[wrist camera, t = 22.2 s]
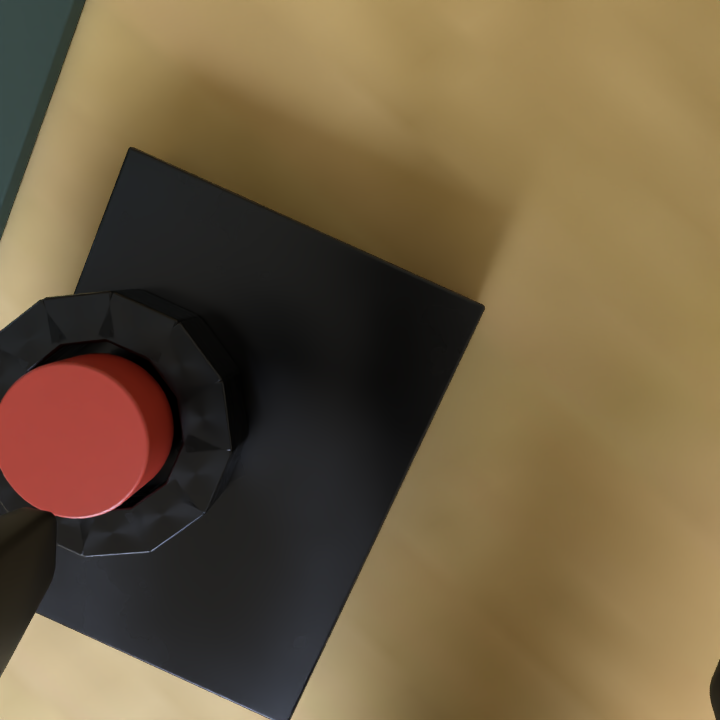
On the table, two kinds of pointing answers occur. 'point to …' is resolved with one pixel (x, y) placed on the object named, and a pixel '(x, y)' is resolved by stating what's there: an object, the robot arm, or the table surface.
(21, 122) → the mat
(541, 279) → the table surface
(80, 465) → the button
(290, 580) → the control block
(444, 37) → the table surface
